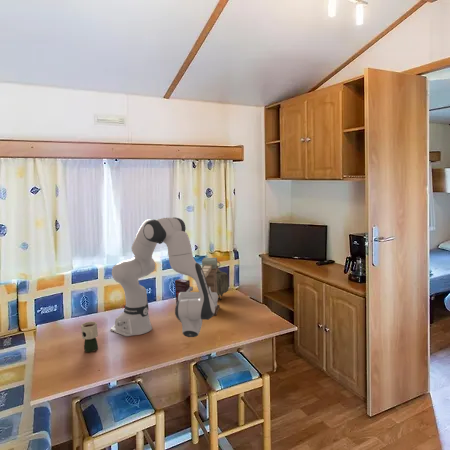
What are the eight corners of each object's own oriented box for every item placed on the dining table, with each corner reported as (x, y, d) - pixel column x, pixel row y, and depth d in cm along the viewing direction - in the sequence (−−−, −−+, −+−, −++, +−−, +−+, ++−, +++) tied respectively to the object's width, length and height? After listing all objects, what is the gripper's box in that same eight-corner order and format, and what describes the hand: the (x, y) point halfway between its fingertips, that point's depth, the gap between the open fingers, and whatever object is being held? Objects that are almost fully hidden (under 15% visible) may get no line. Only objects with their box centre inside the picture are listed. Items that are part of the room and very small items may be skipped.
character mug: (81, 348, 182) (78, 322, 180) (96, 344, 186) (94, 319, 184) (86, 356, 173) (83, 329, 171) (101, 352, 176) (99, 326, 175)
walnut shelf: (215, 317, 215) (213, 273, 211) (199, 317, 216) (197, 273, 213) (219, 306, 232) (218, 265, 229) (205, 306, 234) (203, 265, 230)
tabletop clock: (222, 294, 256) (220, 258, 253) (230, 297, 249) (229, 260, 245) (204, 299, 247) (203, 262, 244) (213, 303, 240) (211, 264, 237)
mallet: (209, 277, 203) (209, 268, 202) (195, 277, 204) (194, 268, 203) (217, 265, 229) (217, 257, 228) (204, 265, 230) (204, 257, 230)
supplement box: (191, 304, 239) (190, 280, 237) (186, 306, 235) (185, 282, 233) (180, 302, 243) (179, 278, 241) (175, 304, 239) (174, 280, 237)
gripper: (215, 304, 183) (219, 283, 194) (175, 303, 186) (180, 283, 197) (217, 312, 187) (220, 291, 198) (177, 311, 190) (182, 291, 201)
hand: (200, 287), depth 197 cm, fingers open, 8 cm apart
